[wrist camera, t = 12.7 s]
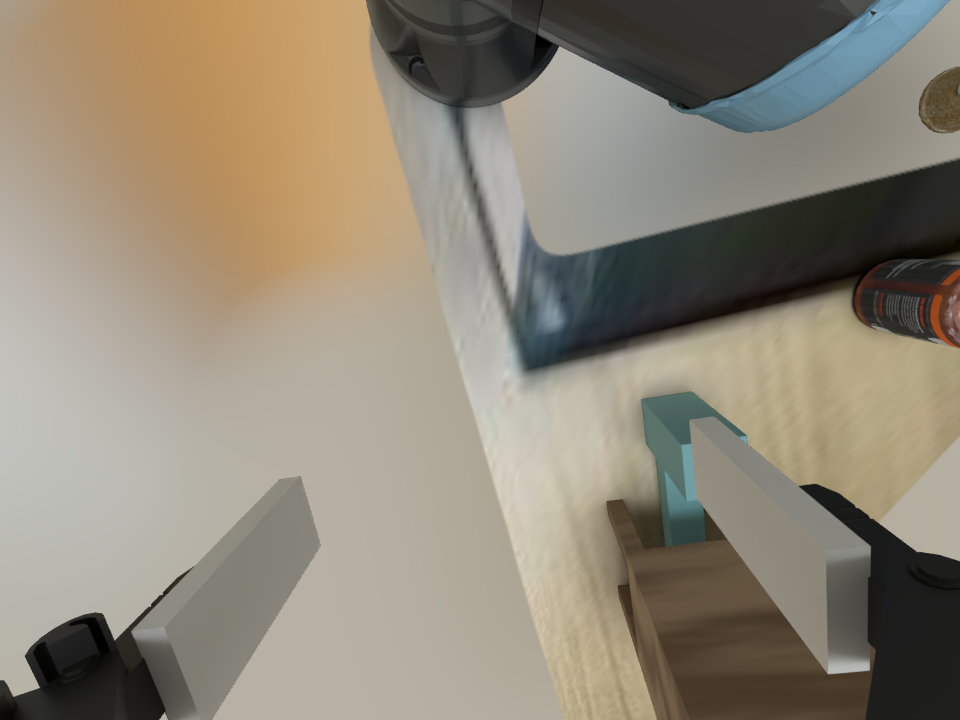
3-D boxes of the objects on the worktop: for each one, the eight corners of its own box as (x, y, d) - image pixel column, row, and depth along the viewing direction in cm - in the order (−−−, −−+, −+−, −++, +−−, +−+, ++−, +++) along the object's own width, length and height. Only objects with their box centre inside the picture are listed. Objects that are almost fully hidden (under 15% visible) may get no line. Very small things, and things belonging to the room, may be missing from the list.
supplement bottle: (876, 344, 40) (1015, 382, 29) (835, 292, 39) (963, 311, 28) (941, 297, 39) (1113, 317, 28) (901, 242, 38) (1061, 241, 27)
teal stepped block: (632, 400, 42) (669, 446, 33) (700, 390, 42) (759, 433, 32) (657, 613, 47) (695, 708, 38) (718, 607, 47) (773, 701, 37)
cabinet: (606, 501, 45) (695, 734, 23) (747, 483, 43) (978, 712, 22) (621, 613, 48) (713, 913, 26) (754, 599, 46) (965, 902, 25)
